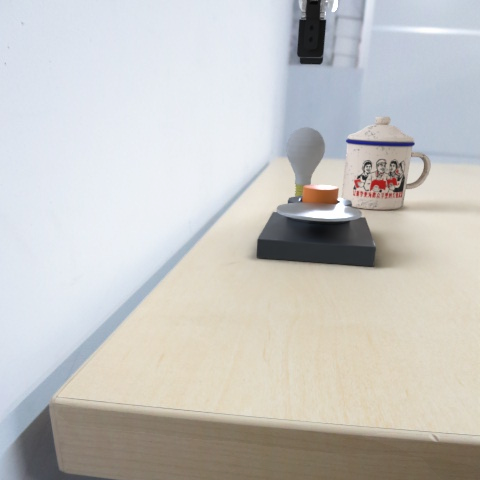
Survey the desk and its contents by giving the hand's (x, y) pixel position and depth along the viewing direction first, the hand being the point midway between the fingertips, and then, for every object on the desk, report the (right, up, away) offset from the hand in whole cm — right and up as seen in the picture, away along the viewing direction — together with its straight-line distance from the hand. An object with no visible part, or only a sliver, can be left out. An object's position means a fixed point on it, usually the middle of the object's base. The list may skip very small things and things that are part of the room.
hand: (310, 60), depth 65 cm
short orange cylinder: (-1, -22, -14) cm, 26 cm away
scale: (-2, -27, -17) cm, 31 cm away
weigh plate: (-2, -24, -20) cm, 32 cm away
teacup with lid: (+11, -18, +6) cm, 22 cm away
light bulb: (0, -17, +7) cm, 18 cm away
